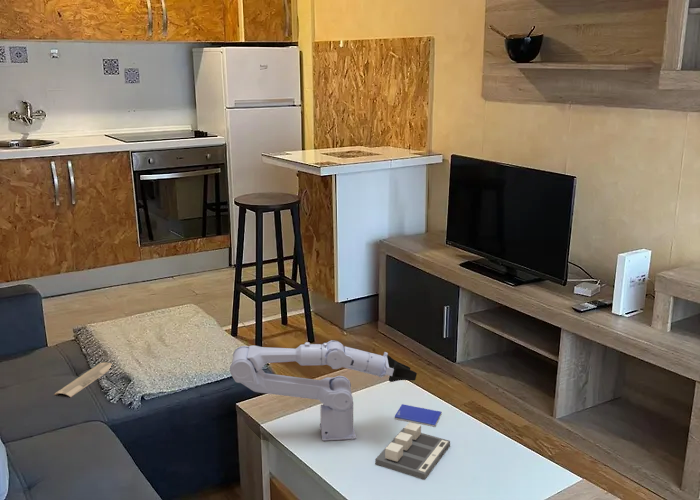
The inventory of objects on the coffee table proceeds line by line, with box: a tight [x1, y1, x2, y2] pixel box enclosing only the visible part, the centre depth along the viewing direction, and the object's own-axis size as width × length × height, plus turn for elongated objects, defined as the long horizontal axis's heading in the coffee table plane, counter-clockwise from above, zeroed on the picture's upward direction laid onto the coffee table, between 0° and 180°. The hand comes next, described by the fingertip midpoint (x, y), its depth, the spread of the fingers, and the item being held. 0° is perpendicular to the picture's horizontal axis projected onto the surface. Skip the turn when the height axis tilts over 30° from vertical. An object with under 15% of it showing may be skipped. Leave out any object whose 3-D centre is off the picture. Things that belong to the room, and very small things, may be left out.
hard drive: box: [394, 403, 442, 428], centre depth 203 cm, size 2×8×12 cm
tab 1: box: [384, 441, 403, 462], centre depth 178 cm, size 4×4×3 cm
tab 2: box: [394, 431, 412, 451], centre depth 184 cm, size 4×4×3 cm
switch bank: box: [374, 427, 451, 480], centre depth 183 cm, size 14×18×2 cm
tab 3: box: [403, 422, 422, 440], centre depth 189 cm, size 4×4×3 cm
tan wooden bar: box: [53, 362, 113, 398], centre depth 224 cm, size 24×7×2 cm, turn 164°
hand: (412, 373), depth 190 cm, fingers open, 7 cm apart
